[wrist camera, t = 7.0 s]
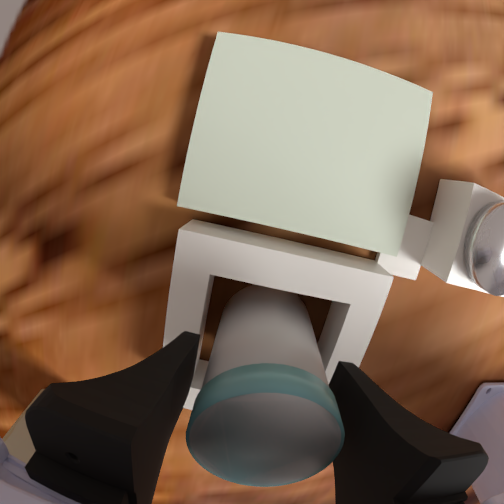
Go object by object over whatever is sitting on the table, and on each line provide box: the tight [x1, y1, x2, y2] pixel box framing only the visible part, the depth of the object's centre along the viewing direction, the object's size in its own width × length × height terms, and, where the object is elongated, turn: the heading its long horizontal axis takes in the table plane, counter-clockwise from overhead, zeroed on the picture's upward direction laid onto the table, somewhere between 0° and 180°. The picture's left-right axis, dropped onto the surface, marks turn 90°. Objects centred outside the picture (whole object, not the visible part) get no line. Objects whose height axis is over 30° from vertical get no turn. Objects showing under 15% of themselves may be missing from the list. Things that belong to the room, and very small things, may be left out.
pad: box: [177, 32, 433, 257], centre depth 13 cm, size 10×8×1 cm
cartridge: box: [186, 284, 345, 487], centre depth 12 cm, size 5×5×8 cm
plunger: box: [464, 201, 504, 296], centre depth 12 cm, size 4×4×4 cm
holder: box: [163, 179, 504, 410], centre depth 14 cm, size 16×14×3 cm
